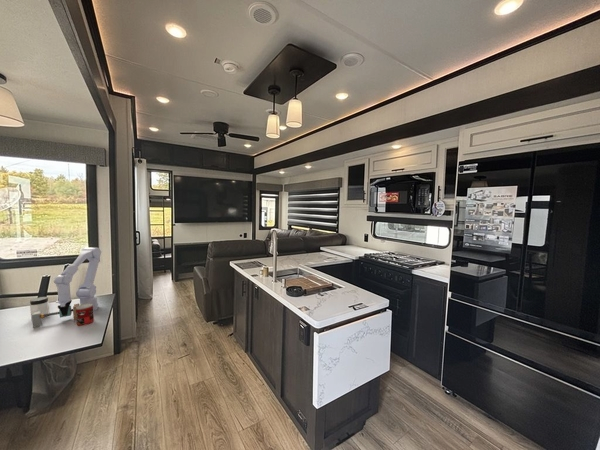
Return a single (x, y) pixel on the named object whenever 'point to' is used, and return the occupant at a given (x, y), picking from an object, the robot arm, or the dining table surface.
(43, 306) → the jar
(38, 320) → the rod peg assembly
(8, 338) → the dining table surface
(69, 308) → the sleeve
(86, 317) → the canned food
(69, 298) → the robot arm
